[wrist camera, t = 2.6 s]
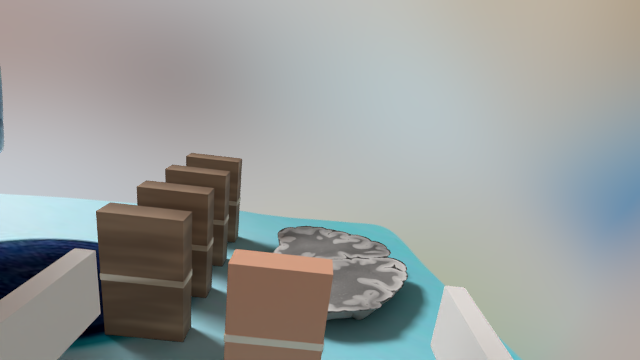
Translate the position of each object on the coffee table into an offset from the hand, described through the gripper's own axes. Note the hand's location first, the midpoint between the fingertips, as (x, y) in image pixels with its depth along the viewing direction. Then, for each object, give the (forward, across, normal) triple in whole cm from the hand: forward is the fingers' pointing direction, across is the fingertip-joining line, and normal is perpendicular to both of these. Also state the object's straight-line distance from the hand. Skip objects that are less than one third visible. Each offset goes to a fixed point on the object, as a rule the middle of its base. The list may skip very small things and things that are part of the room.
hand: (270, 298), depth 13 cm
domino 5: (+10, 0, -16) cm, 19 cm away
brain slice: (+28, +5, -17) cm, 33 cm away
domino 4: (+16, -12, -16) cm, 26 cm away
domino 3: (+22, -12, -16) cm, 30 cm away
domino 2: (+29, -12, -16) cm, 35 cm away
